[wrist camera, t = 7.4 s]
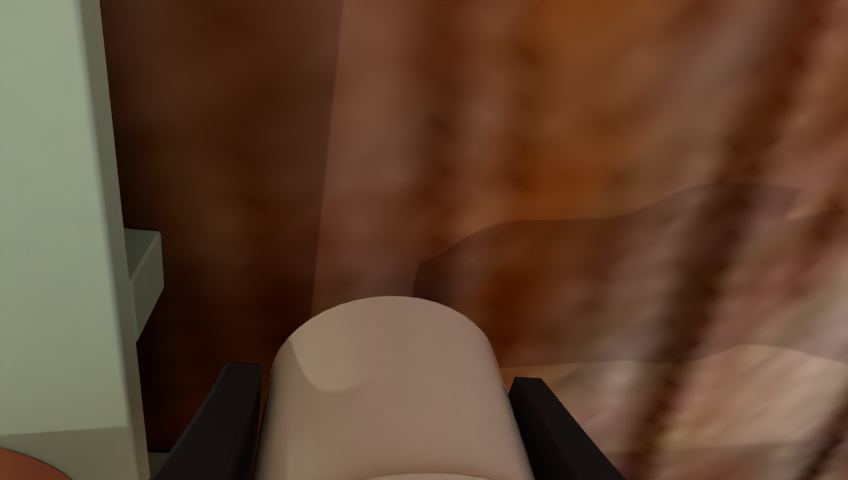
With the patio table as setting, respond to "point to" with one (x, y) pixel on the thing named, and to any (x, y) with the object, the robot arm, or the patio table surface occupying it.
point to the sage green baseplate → (68, 253)
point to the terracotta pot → (26, 468)
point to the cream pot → (388, 399)
